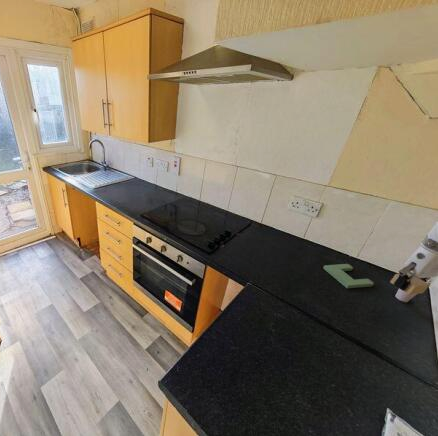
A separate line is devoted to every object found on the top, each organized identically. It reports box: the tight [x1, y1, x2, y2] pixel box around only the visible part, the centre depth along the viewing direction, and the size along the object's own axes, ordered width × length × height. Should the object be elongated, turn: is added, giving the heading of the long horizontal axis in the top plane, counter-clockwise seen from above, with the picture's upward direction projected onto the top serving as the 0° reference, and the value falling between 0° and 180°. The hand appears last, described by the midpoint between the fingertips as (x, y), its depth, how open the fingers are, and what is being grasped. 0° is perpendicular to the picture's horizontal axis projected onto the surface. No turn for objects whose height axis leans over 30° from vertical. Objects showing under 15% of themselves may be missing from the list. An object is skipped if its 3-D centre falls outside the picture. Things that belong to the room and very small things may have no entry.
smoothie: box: [394, 288, 418, 303], centre depth 91 cm, size 6×6×14 cm
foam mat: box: [322, 263, 375, 289], centre depth 105 cm, size 13×13×2 cm
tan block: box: [389, 273, 431, 295], centre depth 79 cm, size 6×6×4 cm
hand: (406, 286), depth 80 cm, fingers closed on tan block, 6 cm apart
